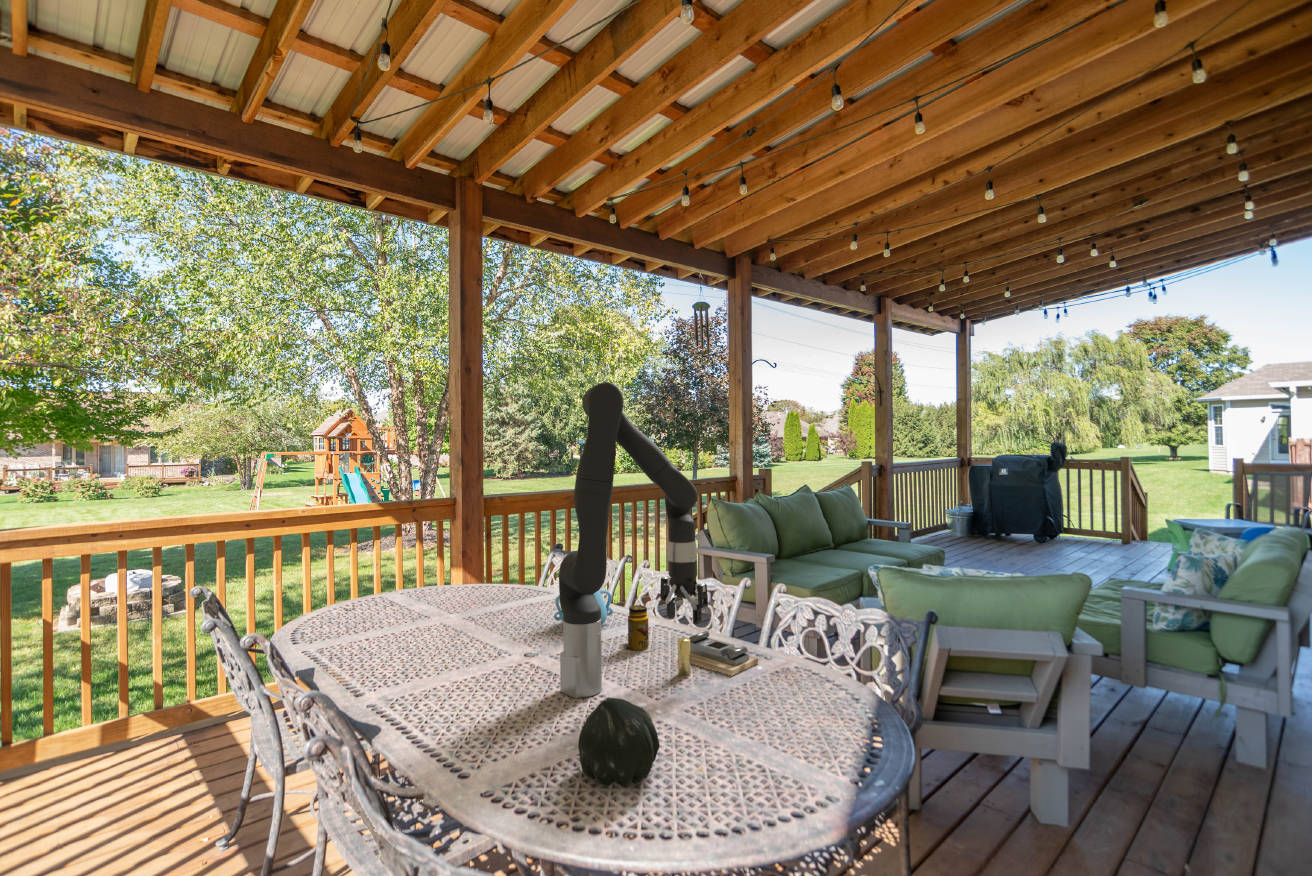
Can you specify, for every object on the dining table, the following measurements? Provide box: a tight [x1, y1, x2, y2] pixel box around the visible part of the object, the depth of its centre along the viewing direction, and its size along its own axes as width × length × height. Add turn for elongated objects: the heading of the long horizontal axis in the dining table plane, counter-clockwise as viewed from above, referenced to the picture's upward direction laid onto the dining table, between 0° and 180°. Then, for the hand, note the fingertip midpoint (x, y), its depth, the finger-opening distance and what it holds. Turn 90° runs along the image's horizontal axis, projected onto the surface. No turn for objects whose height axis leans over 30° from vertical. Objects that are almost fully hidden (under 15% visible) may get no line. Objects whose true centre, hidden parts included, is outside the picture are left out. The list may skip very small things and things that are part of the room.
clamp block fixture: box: [689, 630, 759, 677], centre depth 166 cm, size 12×18×6 cm, turn 47°
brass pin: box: [677, 637, 692, 678], centre depth 157 cm, size 3×3×9 cm
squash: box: [577, 697, 660, 787], centre depth 110 cm, size 14×15×15 cm
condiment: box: [619, 604, 652, 654], centre depth 178 cm, size 7×8×12 cm
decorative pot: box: [553, 589, 614, 627], centre depth 200 cm, size 20×20×14 cm
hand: (684, 620), depth 158 cm, fingers open, 8 cm apart
